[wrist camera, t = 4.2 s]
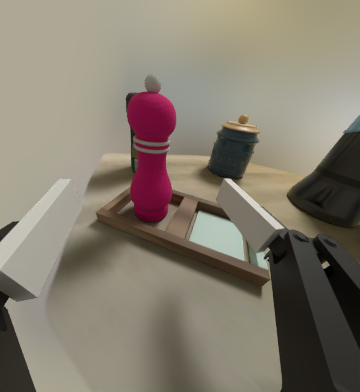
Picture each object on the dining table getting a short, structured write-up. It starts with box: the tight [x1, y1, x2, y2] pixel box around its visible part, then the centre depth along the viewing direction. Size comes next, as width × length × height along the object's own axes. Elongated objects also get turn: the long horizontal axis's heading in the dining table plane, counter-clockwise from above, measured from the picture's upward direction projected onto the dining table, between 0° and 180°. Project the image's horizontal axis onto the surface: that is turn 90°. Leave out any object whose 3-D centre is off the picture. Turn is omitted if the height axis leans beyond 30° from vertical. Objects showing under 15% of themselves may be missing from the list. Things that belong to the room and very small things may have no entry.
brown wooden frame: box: [96, 187, 270, 286], centre depth 24 cm, size 12×26×2 cm, turn 71°
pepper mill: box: [127, 74, 176, 222], centre depth 20 cm, size 7×7×20 cm
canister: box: [208, 115, 260, 178], centre depth 43 cm, size 13×13×18 cm
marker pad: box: [189, 210, 244, 261], centre depth 23 cm, size 9×9×1 cm
